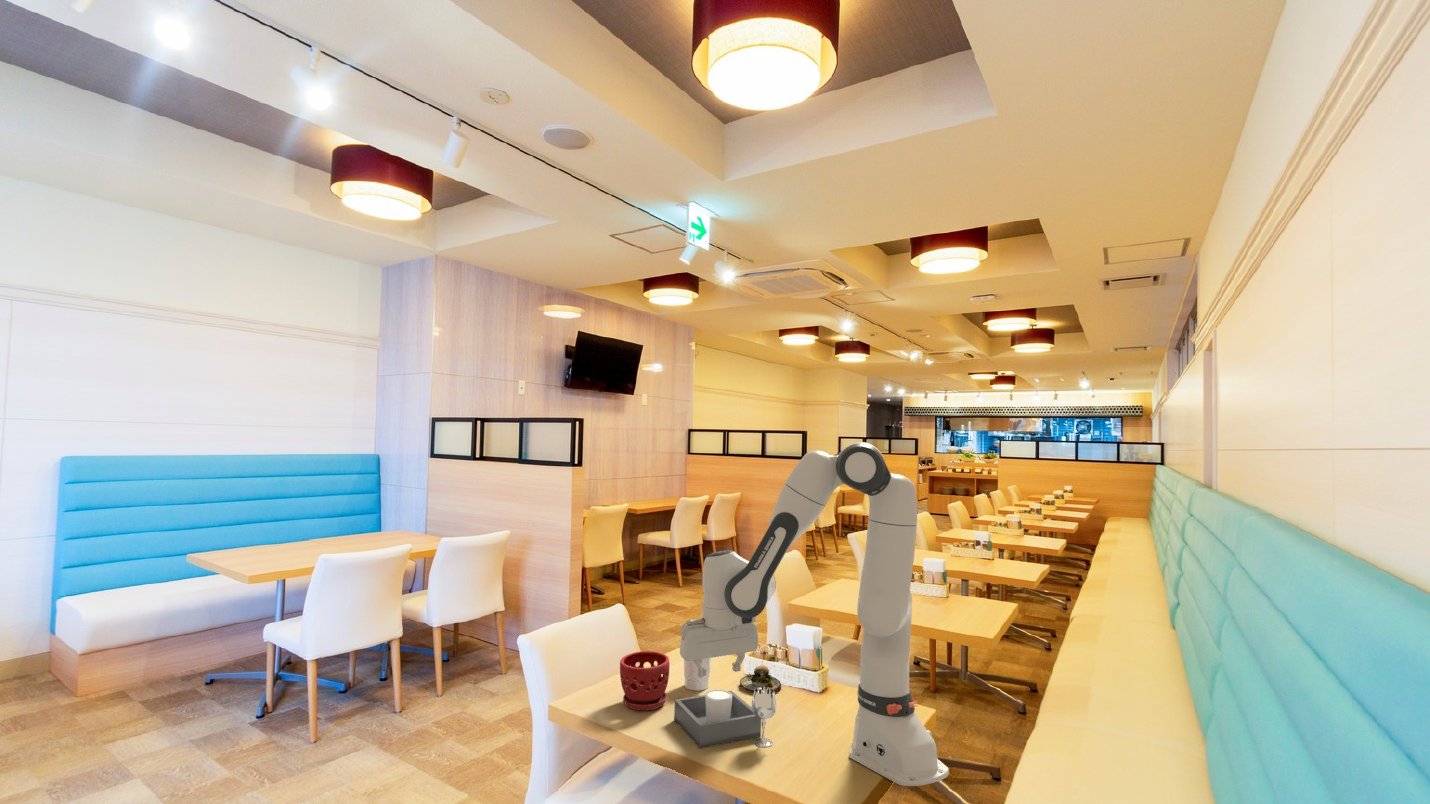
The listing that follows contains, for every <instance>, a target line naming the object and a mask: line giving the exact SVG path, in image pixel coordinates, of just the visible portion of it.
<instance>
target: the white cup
mask: <svg viewBox="0 0 1430 804" xmlns="http://www.w3.org/2000/svg"><path fill="white" fill-rule="evenodd" d="M711 661H712V658H706V659H702V663H701V664H700V665H701V667H702V668H704V669H706V677H699V676H698V668H697V666H696V665H695V663H694V660H693V661H686V660H685V659H683V672H684V673H683V674H684V687H685V689H687V690H689V691H695V692H700V691H705V690H706V689H708V688H709V679H710V673H711Z"/></svg>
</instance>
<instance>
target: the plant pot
mask: <svg viewBox="0 0 1430 804" xmlns="http://www.w3.org/2000/svg"><path fill="white" fill-rule="evenodd" d="M655 662H656V663H657V665H655ZM637 663H639V665H638V666H636V664H637ZM646 663H648V664H650V666H649V667H645V664H646ZM619 673H620V674H619V677H620V683H621V687H622V690H623V693H624V695H623V697H622V698H623V699H622V701H623V702H624V704H625V706H627V707H628V708H630V709H632V710H637V711H652V710H655V709H658V708H660V707H662V706H663V705H664V704H665V703H666V701H667V699H668V695H667V693H666V691H667V688H668V683H669V679H670V658H669V656H668V655H666V653H665V654H664V653H662V652H659V651H651V650H643V651H642V650H641V651H635V652H631V653H628V654H626V655H624V656H622V658H621V659H620V661H619Z"/></svg>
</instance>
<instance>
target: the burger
mask: <svg viewBox="0 0 1430 804" xmlns="http://www.w3.org/2000/svg"><path fill="white" fill-rule="evenodd" d="M763 660H764V659H762V660H761V661H762V662H761V665H758V666H756V667H755V668H753V669H754V670H753V674H750V672H748V674H746V675H745V676H743V677H741V679H740V680H739V688H741V687H744V688H746V689H747V690H749V691H754V690H755V689H756V688H758V687H768V688H771V689H773V690H774V691H775V690H777V689H778V690H777V692H781V690H782V683H781V681H780V680H779V679H778V678H777V677H774V676H772V675H771V674H770V669H769V668H768V666H766V665H763V662H764V661H763Z"/></svg>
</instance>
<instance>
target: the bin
mask: <svg viewBox="0 0 1430 804" xmlns="http://www.w3.org/2000/svg"><path fill="white" fill-rule="evenodd" d="M727 691H728V692H730V693H731V694H732V696H733V697H732V705H731V714H730V719H726V720H720V721H715V722H709V723H707V719H706V702H705V694H703V695H695V696H691V697H684V698H675V699H674V715H673V721H674V722H675V723H676V724H677V725H678V726H679V727H680V728H681V730H683V731H684V733H685V734H686V735H687V736H688V737H689V739H691V740H692V742H694V744H695V745H696V746H697V747H698V748H699V749H704V748H709V747H714V746H719V745H723V744H728V743H729V744H731V743H734V742H739V741H743V740H749V739H750V740H751V739H754V738H755V739H756V738H761V737H762V735H761V734H762V732H761V731H762V719H760V718H758V717H757V716H755V715H754V713H753V710H752V705H750V704H748V703H747V702H746V701H745V700H744V699H742V698H741V697H740V696H739V695H737V694H736V693H735V692H734V691H732V690H727Z"/></svg>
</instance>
